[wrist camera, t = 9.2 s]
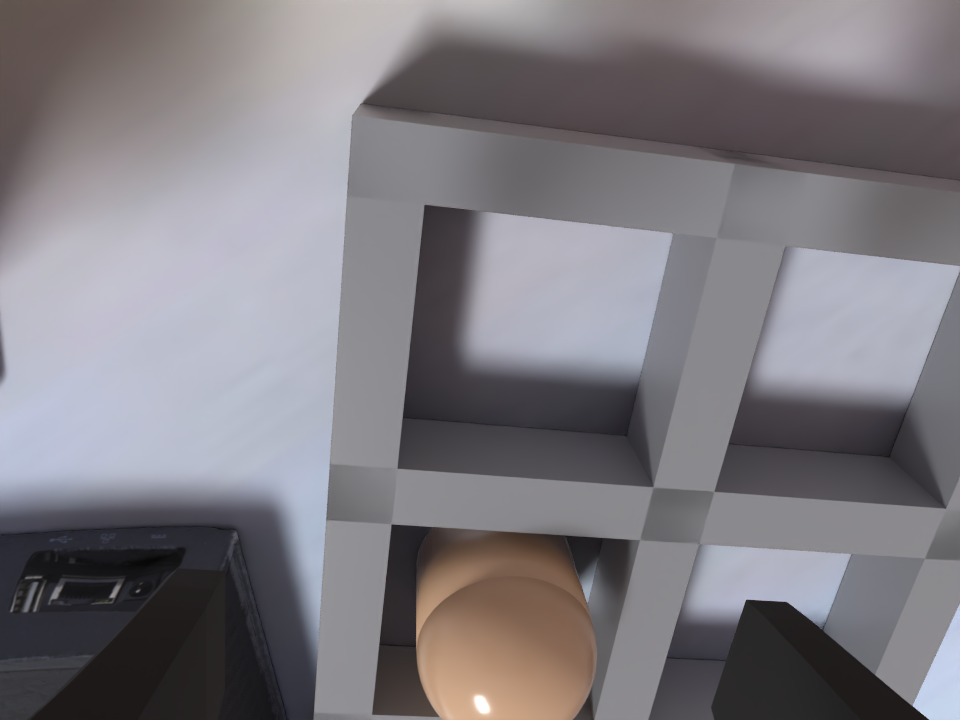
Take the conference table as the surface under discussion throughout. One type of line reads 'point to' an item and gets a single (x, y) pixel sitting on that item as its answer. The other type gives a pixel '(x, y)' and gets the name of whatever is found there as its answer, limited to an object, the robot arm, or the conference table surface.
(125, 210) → the conference table surface
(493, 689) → the tan bulbous object
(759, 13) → the conference table surface
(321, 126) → the conference table surface
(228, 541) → the external hard drive
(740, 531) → the egg crate
